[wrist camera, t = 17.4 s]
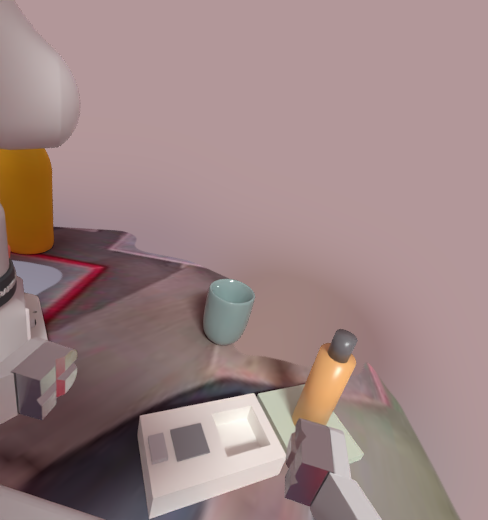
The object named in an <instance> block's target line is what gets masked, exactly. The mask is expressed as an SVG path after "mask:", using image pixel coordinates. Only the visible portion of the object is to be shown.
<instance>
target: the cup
mask: <svg viewBox="0 0 488 520" xmlns="http://www.w3.org/2000/svg"><path fill="white" fill-rule="evenodd" d="M254 299H255V294H254V292H253V290H251V288H250V287H248V286H247V285H246V284H244V283H242V282H240V281H237V280H233V279H220V280H217V281H214V282H213V283H212V284H211V285H210V287H209V290H208V294H207V299H206V303H205V309H204V316H203V328H204V332H205V334H206V336H207V337H208V338H209V339H210V340H211V341H212V342H214V343H216V344H218V345H230V344H232V343H234V342H236V341H237V340H238V339H239V338H240V337H241V335H242V334H243V332H244V330H245V328H246V326H247V323H248V320H249V317H250V314H251V310H252V307H253V303H254Z"/></svg>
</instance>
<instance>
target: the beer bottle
mask: <svg viewBox="0 0 488 520" xmlns="http://www.w3.org/2000/svg"><path fill="white" fill-rule="evenodd" d="M52 202H53V199H52V168H51V162H50V159H49V157H48V154H47V152H46V150H45V149H44V148H41V149H21V150H6V149H0V203H1V205H2V207H3V209H4V212H5V221H6V232H7V243H8V245H9V246H10V249H11V252H14V253H18V254H38V253H43V252H46V251H48V250H49V249H51V248H52V246H53V243H54V233H53V203H52Z"/></svg>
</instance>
